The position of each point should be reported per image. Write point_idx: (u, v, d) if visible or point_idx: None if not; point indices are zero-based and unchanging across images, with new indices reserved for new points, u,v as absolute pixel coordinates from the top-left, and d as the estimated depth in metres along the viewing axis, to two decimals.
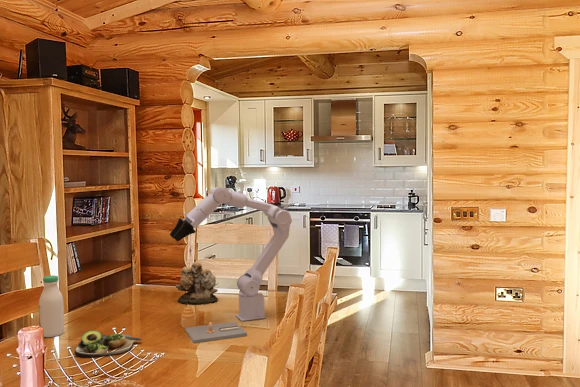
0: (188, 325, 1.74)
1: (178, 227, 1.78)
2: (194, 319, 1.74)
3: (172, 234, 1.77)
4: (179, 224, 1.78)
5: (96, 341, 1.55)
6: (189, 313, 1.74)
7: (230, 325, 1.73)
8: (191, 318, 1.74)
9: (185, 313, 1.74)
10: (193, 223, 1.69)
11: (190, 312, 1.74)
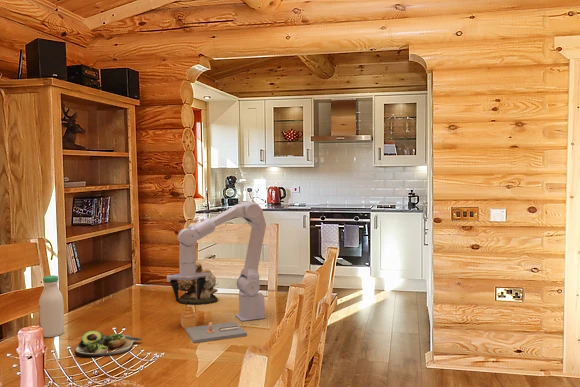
0: (188, 325, 1.74)
1: (177, 290, 1.73)
2: (194, 319, 1.74)
3: None
4: (177, 287, 1.73)
5: (96, 341, 1.55)
6: (189, 313, 1.74)
7: (230, 325, 1.73)
8: (191, 318, 1.74)
9: (185, 313, 1.74)
10: (207, 276, 1.77)
11: (190, 312, 1.74)
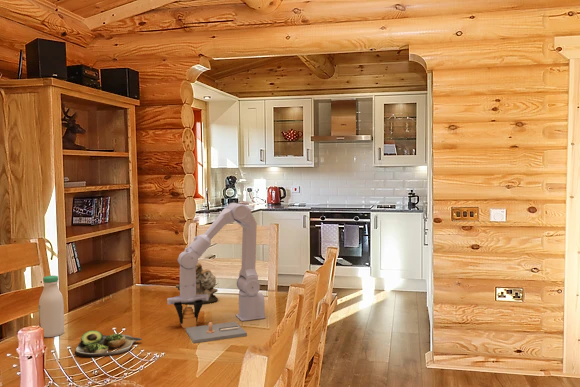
0: (188, 325, 1.74)
1: (181, 312, 1.74)
2: (194, 319, 1.74)
3: None
4: (181, 309, 1.74)
5: (96, 341, 1.55)
6: (189, 313, 1.74)
7: (230, 325, 1.73)
8: (191, 318, 1.74)
9: (185, 313, 1.74)
10: None
11: (190, 312, 1.74)
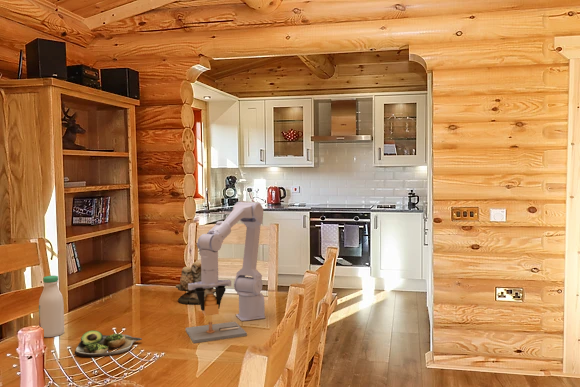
0: (210, 312, 1.63)
1: None
2: (216, 306, 1.64)
3: None
4: None
5: (96, 341, 1.55)
6: (211, 299, 1.64)
7: (230, 325, 1.73)
8: (213, 305, 1.64)
9: (207, 299, 1.64)
10: None
11: (212, 298, 1.64)
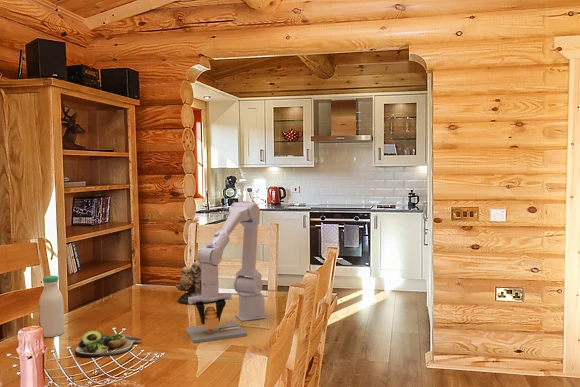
0: (210, 326, 1.63)
1: None
2: (216, 319, 1.64)
3: None
4: None
5: (96, 341, 1.55)
6: (211, 313, 1.64)
7: (230, 325, 1.73)
8: (213, 318, 1.64)
9: (207, 313, 1.64)
10: None
11: (212, 312, 1.64)
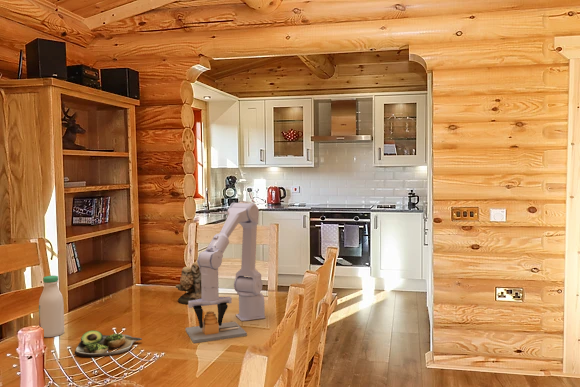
0: (210, 331, 1.63)
1: None
2: (217, 325, 1.64)
3: None
4: None
5: (96, 341, 1.55)
6: (211, 318, 1.64)
7: (230, 325, 1.73)
8: (213, 324, 1.64)
9: (207, 318, 1.64)
10: None
11: (212, 317, 1.64)
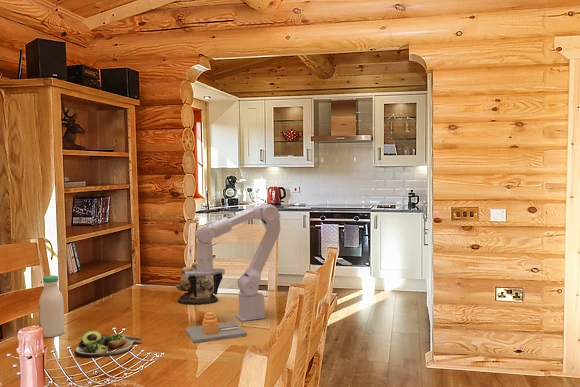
0: (210, 331, 1.63)
1: None
2: (217, 325, 1.64)
3: None
4: None
5: (96, 341, 1.55)
6: (211, 318, 1.64)
7: (230, 325, 1.73)
8: (213, 324, 1.64)
9: (207, 318, 1.64)
10: None
11: (212, 317, 1.64)
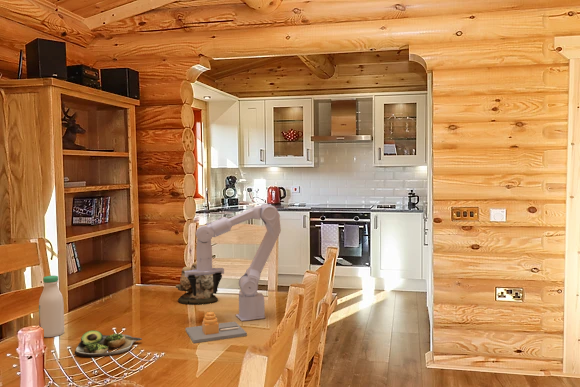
0: (210, 331, 1.63)
1: None
2: (217, 325, 1.64)
3: None
4: None
5: (96, 341, 1.55)
6: (211, 318, 1.64)
7: (230, 325, 1.73)
8: (213, 324, 1.64)
9: (207, 318, 1.64)
10: None
11: (212, 317, 1.64)
